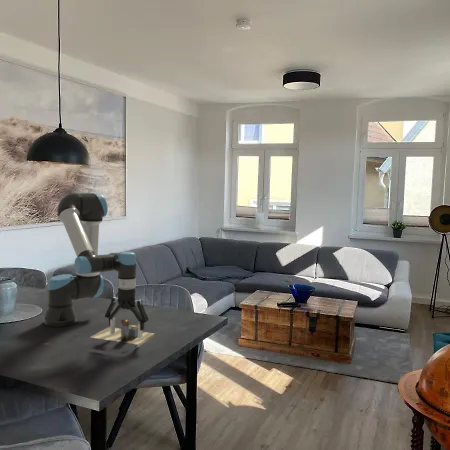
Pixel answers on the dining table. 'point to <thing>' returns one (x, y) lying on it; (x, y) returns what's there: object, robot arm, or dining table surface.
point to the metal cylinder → (125, 330)
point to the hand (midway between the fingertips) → (126, 335)
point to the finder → (133, 331)
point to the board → (117, 336)
